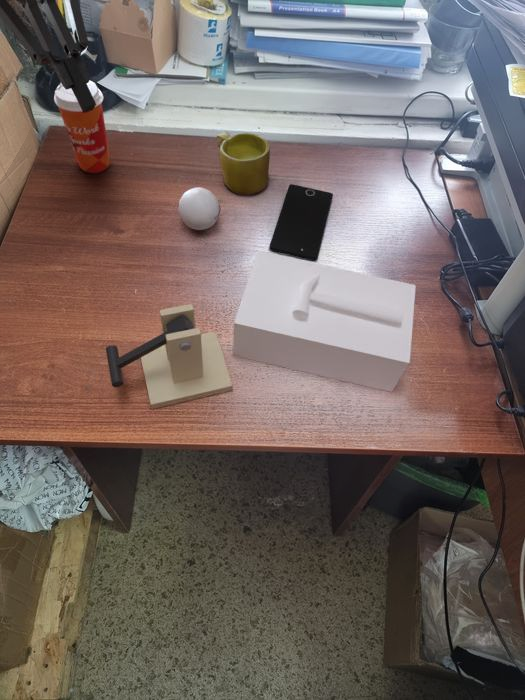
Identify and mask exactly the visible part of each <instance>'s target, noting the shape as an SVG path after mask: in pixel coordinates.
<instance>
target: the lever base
mask: <svg viewBox="0 0 525 700" xmlns="http://www.w3.org/2000/svg"><path fill="white" fill-rule="evenodd" d="M159 315H160V316H159V317H160V321H161V328H162V334H163V333H164V332H166V331H167V328H166V324H167V323H169V322H171V321H173V320H174V319H176V318H178V317H180V316H181V315H184V316H185V317H187V318H188V319H189V320H190V321H192V322H193V326H194V329H190V330H185V331H180V332H176V333H171V334H166V341H167V344H165V345H163V346H161V347H159V348H158V349H156V350H154V351H152V352H150V353H148V354H147V355H145V356H143V357H141V358H140V361H141V365H142V371H143V376H144V380H145V385H146V389H147V395H148V398H149V400H148V401H149V404H150V408H151V410H154V409H159V408H163V407H166V406H167V407H168V406H171V405H175V404H180V403H184V402H189V401H193V400H197V399H202V398H205V397H209V396H215V395H218V394H222V393H226V392H231V391H233V387H234V386H233V385H234V384H233V382H232V379H231V376H230V373H229V370H228V369H229V368H228V366H227V363H226V360H225V356H224V353H223V349H222V347H221V344H220V341H219V337H218V334H217V331H216V330H215V331H210V332H206V333H202V332H201V328H200V327H196V319H195V318H196V317H195V308H194V305H193V303H190V304H183V305H178V306H174V307H169V308H164V309H159Z"/></svg>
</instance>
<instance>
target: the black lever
mask: <svg viewBox="0 0 525 700" xmlns="http://www.w3.org/2000/svg"><path fill="white" fill-rule="evenodd" d="M166 328H167V331H166V332H164V333H163V332H162V333H161V334H158V335H157V336H156V337H154V338H152V339H150V340H148V341H146V342H145V343H143V344H141V345H139V346H138V347H135V348H134V349H132V350H130V351H128V352H126V353H125V354H123V355H121V356H120V355H119V349H118V346H117V345H115V344H111V345H108V346H106V348H105V353H106V359H107V365H108V370H109V371H108V372H109V377H110V382H111V387H113V388H120V387H122V386H124V384H125V383H124V377H123V371H122V369H123V368H124V367H127V366H128V365H130V364H132V363H134V362H136V361H138V360H139V359H141V357H143V356H145V355H147V354H148V353H150V352H152V351H154V350H156V349H158V348H159V347H161V346H163V345H165V344H167V341H166V334H171V333H176V332H180V331H185V330H190V329H194V326H193V322H192V321H190V320H189V319H188V318H187V317H185V316H184V315H181V316H180V317H178V318H176V319H174V320H173V321H171V322H169V323H167V324H166Z"/></svg>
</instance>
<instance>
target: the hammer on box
mask: <svg viewBox="0 0 525 700" xmlns="http://www.w3.org/2000/svg"><path fill="white" fill-rule="evenodd" d="M416 287H417V286H416V284H412V283H408V282H403V281H398V280H394V279H389V278H385V277H380V276H375V275H371V274H367V273H361V272H356V271H352V270H348V269H345V268H339V267H334V266H330V265H326V264H322V263H321V264H320V263H317V262H313V261H309V260H308V261H306V260H303V259H299V258H293V257H289V256H284V255H280V254H276V253H272V252H271V253H270V252H267V251H261V250H256V253H255V257H254V259H253V263H252V266H251V269H250V272H249V275H248V279H247V282H246V285H245V288H244V290H243V294H242V297H241V300H240V304H239V305H238V306H239V307H238V310H237V313H236V316H235V319H234V322H233V342H232V356H235V357H238V358H243V359H246V360H250V361H251V360H252V361H256V362H259V363H263V364H269V365H274V366H278V367H282V368H287V369H291V370H293V371H294V370H295V371H299V372H304V373H307V374H312V375H316V376H320V377H325V378H329V379H332V380H333V379H334V380H337V381H342V382H347V383H350V384H353V385H354V384H355V385H360V386H364V387H368V388H372V389H376V390H380V391H385V392H389V393H393V391H394V389H395V387H396V386H397V384H398V383H399V381H400V379H401V378H402V376H403V375H404V373H405V371H406V370H407V368H408V367H409V365H410V364H411V352H412V337H413V325H414V312H415V301H416V299H415V298H416Z"/></svg>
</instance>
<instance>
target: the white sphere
mask: <svg viewBox="0 0 525 700" xmlns="http://www.w3.org/2000/svg"><path fill="white" fill-rule="evenodd" d="M177 210H178V214H179V217H180V220H181V221H182V222H183V224H184V225H186V226H187V227H188V228H189V229H193V230H197V231H202V230H203V231H204V230H206V229H209V228H211V227H212V226H213V225H214V224H215V223H216V222H217V220H218V218H219V217H220V213H221V205H220V203H219V200H218V198H217V196H215V194H214V193H213V192H212V191H211V190H209V189H207V188H204V187H192V188H190V189H188V190H186V191H185V192H184V193H183V194H182V196H181V197H180V199H179V202H178V209H177Z"/></svg>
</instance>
